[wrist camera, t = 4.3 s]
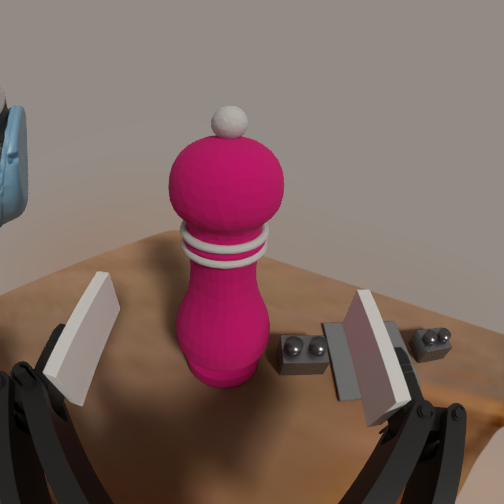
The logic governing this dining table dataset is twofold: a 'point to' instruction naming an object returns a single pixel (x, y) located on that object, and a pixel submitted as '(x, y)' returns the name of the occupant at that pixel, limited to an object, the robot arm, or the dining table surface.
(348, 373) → the plate
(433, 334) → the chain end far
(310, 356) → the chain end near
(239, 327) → the pepper mill
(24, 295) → the dining table surface
